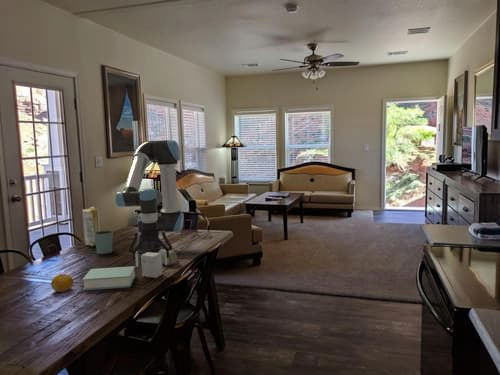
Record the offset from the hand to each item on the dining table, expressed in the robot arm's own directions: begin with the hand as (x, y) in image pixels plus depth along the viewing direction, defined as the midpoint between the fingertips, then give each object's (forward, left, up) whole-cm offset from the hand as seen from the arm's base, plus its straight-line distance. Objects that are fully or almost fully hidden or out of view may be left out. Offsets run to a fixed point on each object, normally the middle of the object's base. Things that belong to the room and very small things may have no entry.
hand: (151, 265), depth 185 cm
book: (+7, -18, -5) cm, 20 cm away
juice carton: (-68, -45, -5) cm, 82 cm away
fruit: (+12, -37, -5) cm, 39 cm away
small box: (0, 0, -5) cm, 5 cm away
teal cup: (-48, -33, -5) cm, 59 cm away
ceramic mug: (-18, +6, -5) cm, 20 cm away
